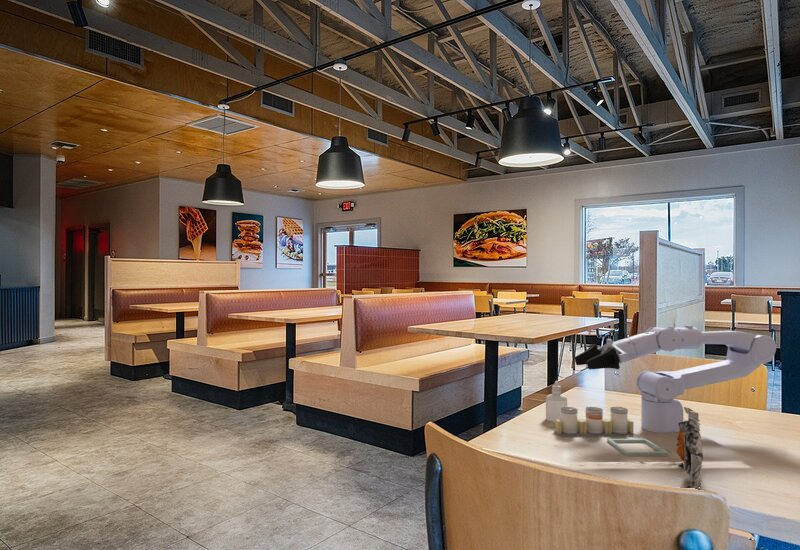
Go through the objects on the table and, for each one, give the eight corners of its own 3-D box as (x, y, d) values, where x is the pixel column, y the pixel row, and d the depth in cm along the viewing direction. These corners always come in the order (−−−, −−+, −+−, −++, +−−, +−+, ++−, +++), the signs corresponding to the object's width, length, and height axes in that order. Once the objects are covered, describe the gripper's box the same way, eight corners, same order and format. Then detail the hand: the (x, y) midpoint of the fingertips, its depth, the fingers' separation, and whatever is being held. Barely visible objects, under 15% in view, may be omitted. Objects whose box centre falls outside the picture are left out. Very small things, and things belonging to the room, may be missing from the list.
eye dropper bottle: (562, 428, 135) (562, 384, 135) (543, 423, 139) (543, 381, 139) (569, 424, 138) (569, 381, 138) (550, 420, 142) (550, 378, 142)
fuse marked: (598, 429, 130) (598, 406, 130) (605, 434, 126) (605, 410, 126) (583, 429, 130) (583, 406, 130) (589, 434, 126) (589, 411, 126)
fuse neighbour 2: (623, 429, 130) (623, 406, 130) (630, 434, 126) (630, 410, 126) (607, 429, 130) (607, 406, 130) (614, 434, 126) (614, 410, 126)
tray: (646, 446, 121) (646, 438, 121) (668, 460, 111) (668, 452, 111) (607, 446, 121) (607, 438, 121) (626, 461, 111) (626, 453, 111)
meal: (674, 465, 109) (674, 405, 109) (697, 469, 107) (697, 408, 107) (677, 492, 95) (677, 423, 95) (703, 496, 93) (703, 427, 93)
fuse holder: (624, 431, 132) (624, 415, 132) (640, 441, 124) (640, 424, 124) (550, 431, 132) (550, 416, 132) (561, 442, 124) (561, 425, 124)
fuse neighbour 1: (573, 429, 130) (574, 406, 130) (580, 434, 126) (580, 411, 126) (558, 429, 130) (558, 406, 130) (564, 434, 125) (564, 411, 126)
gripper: (612, 331, 138) (566, 345, 137) (640, 336, 124) (589, 351, 123) (619, 356, 138) (573, 370, 137) (648, 363, 124) (597, 379, 123)
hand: (581, 363), depth 130 cm, fingers open, 7 cm apart
